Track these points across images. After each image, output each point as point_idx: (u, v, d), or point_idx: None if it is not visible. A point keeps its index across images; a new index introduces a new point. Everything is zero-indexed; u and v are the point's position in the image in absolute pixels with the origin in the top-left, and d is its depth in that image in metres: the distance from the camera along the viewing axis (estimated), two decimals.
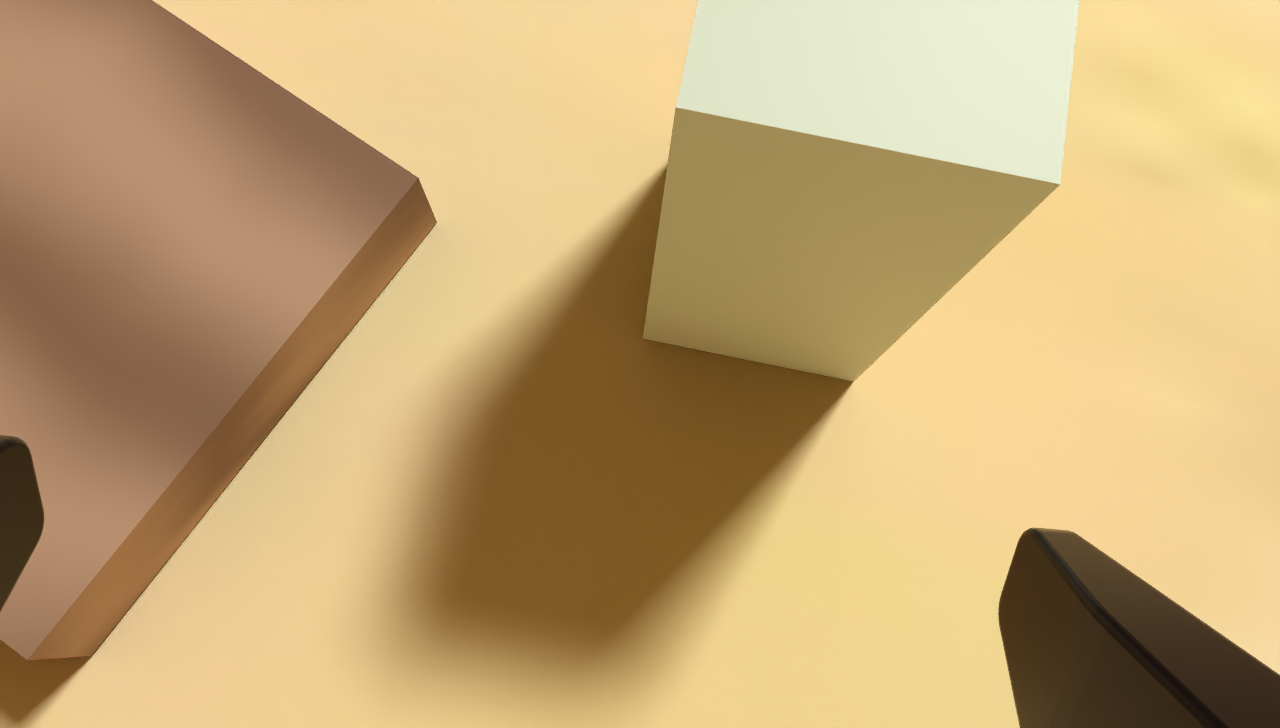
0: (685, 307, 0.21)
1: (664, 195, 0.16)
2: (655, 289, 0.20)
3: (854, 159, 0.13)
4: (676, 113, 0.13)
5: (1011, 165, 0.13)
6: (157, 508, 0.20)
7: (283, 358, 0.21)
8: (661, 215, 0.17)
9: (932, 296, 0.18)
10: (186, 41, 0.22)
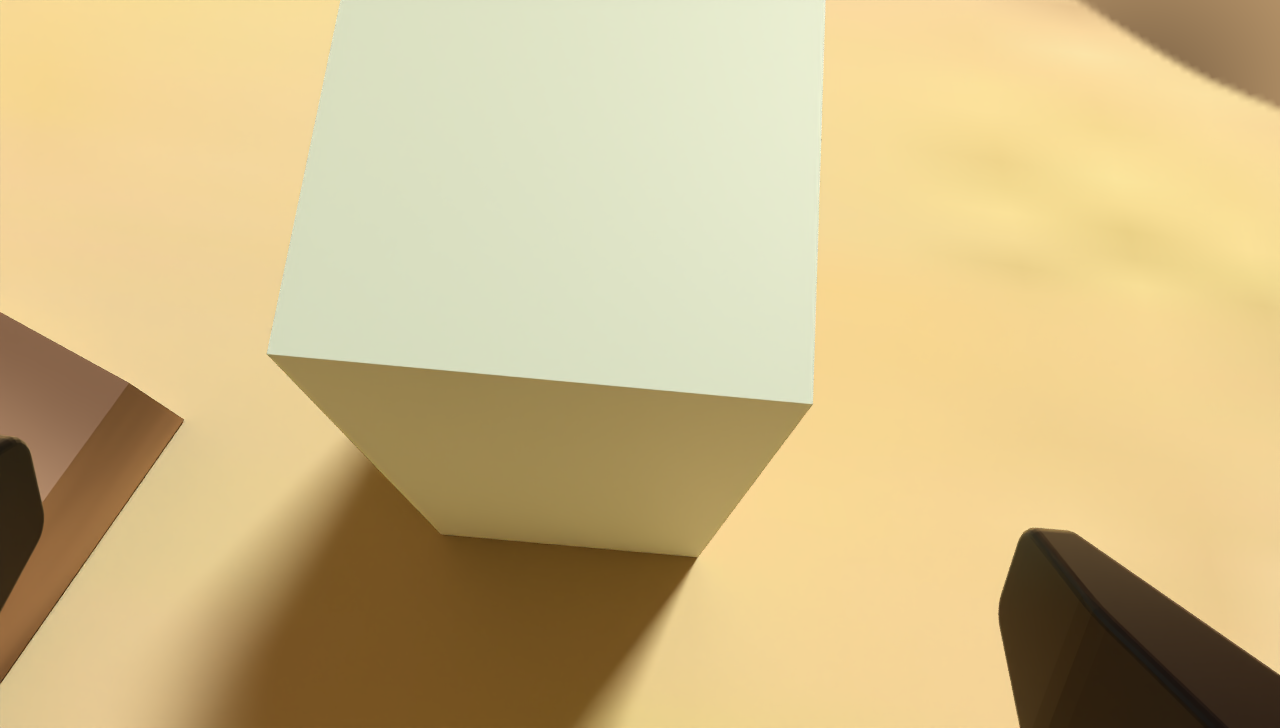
0: (461, 512, 0.17)
1: (341, 429, 0.12)
2: (414, 500, 0.16)
3: (537, 392, 0.10)
4: (274, 359, 0.09)
5: (743, 384, 0.09)
6: None
7: None
8: (356, 445, 0.13)
9: (730, 497, 0.14)
10: None
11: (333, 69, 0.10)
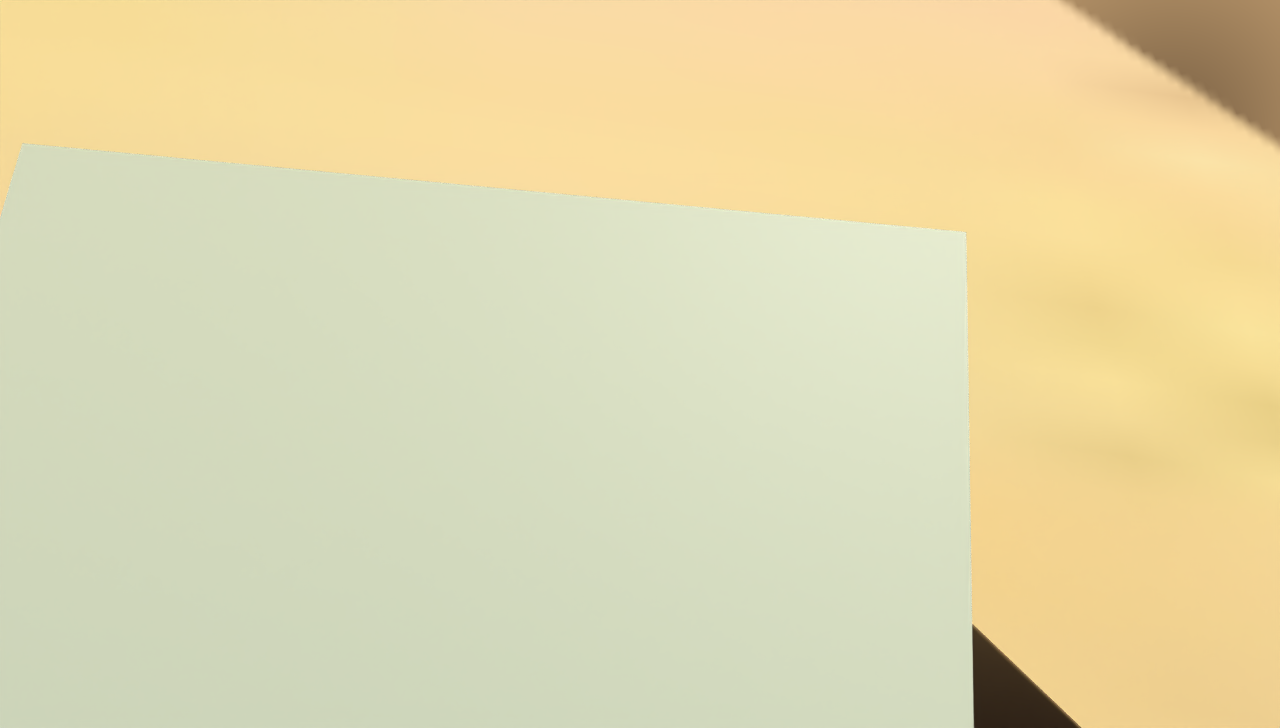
0: None
1: None
2: None
3: None
4: None
5: None
6: None
7: None
8: None
9: None
10: None
11: None
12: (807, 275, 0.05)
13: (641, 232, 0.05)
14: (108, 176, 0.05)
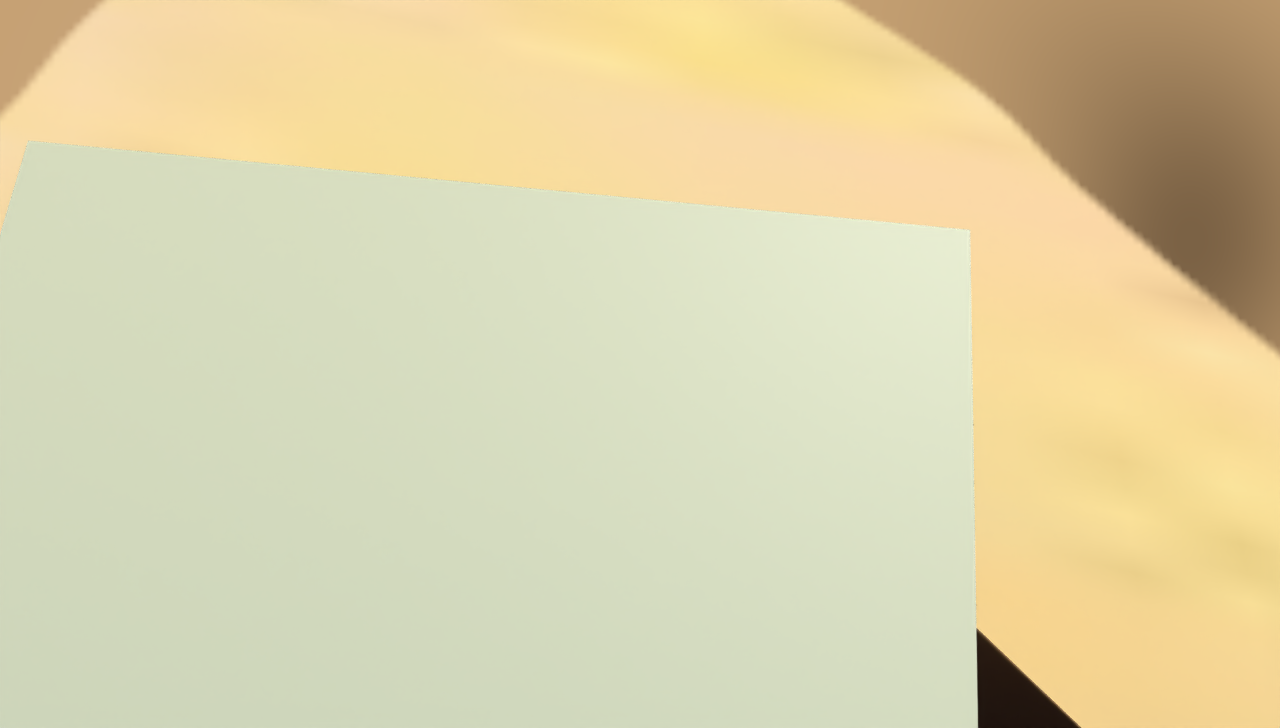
0: None
1: None
2: None
3: None
4: None
5: None
6: None
7: None
8: None
9: None
10: None
11: None
12: (812, 272, 0.05)
13: (647, 230, 0.05)
14: (114, 173, 0.05)
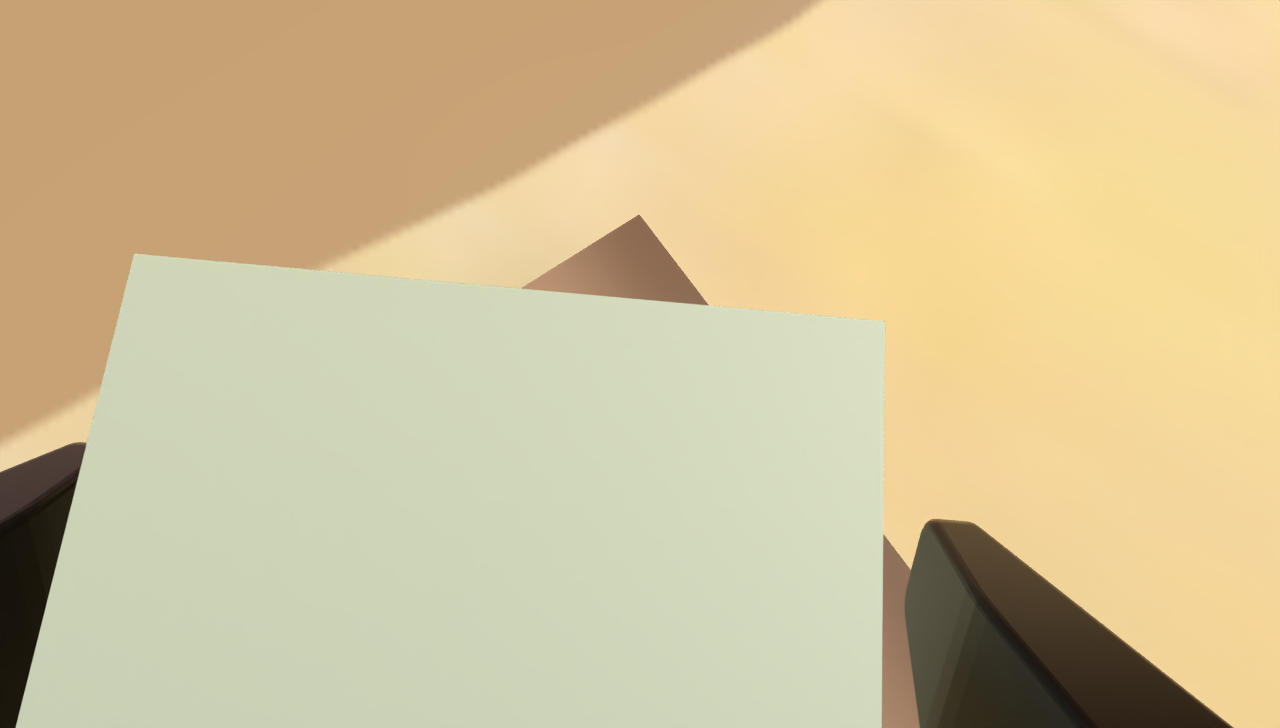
0: None
1: None
2: None
3: None
4: None
5: None
6: None
7: None
8: None
9: None
10: None
11: (72, 554, 0.06)
12: (757, 357, 0.07)
13: (627, 323, 0.07)
14: (203, 280, 0.07)
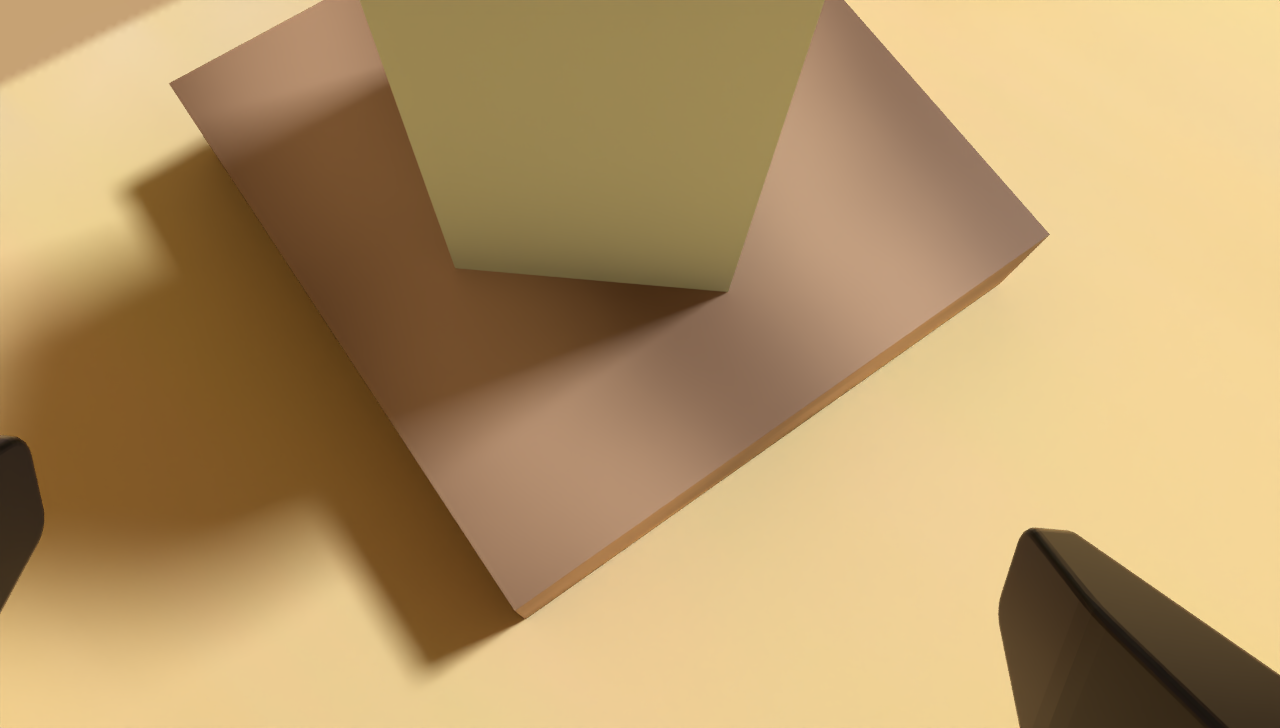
0: (478, 198, 0.16)
1: None
2: (428, 172, 0.15)
3: None
4: None
5: None
6: (683, 493, 0.18)
7: (850, 377, 0.19)
8: (366, 15, 0.11)
9: (776, 108, 0.13)
10: (834, 13, 0.20)
11: None
12: None
13: None
14: None
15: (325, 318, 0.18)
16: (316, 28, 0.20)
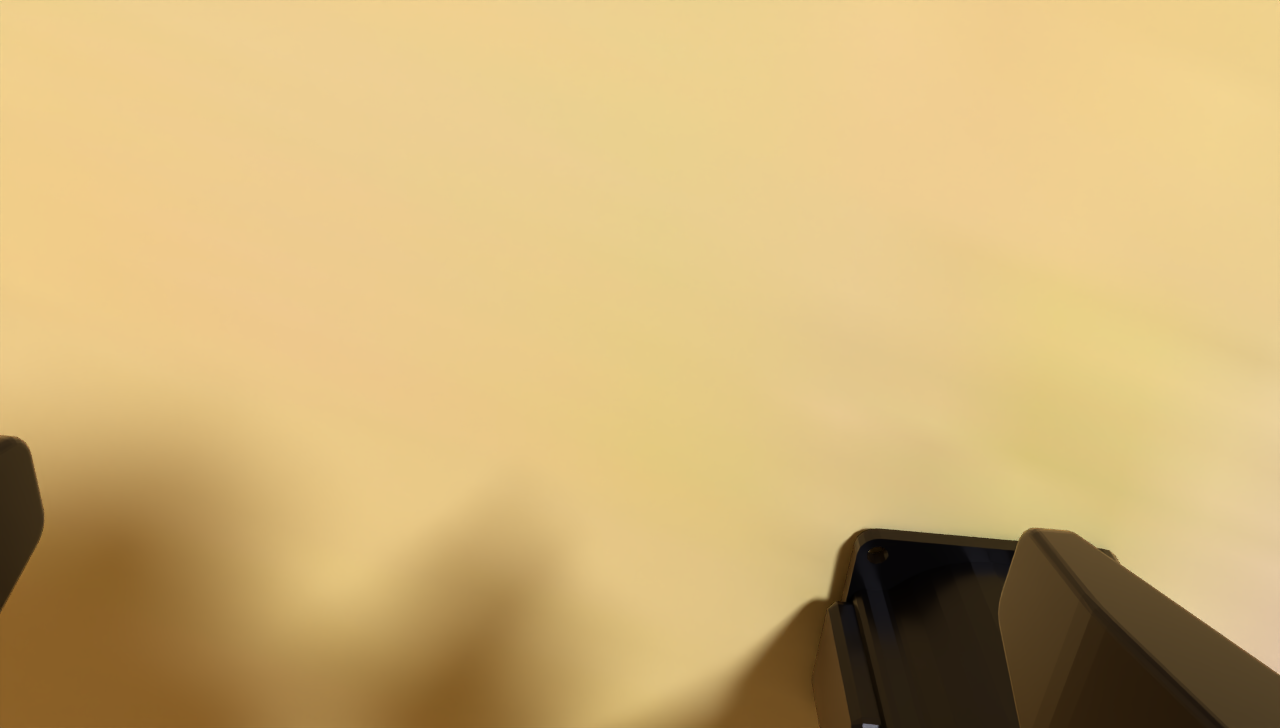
0: None
1: None
2: None
3: None
4: None
5: None
6: None
7: None
8: None
9: None
10: None
11: None
12: None
13: None
14: None
15: None
16: None
